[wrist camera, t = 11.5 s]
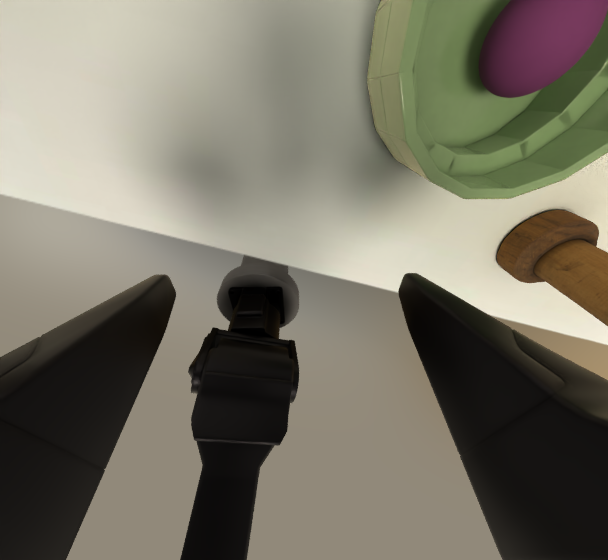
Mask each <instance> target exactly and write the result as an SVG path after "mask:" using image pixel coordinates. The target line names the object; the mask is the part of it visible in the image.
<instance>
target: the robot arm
mask: <svg viewBox="0 0 608 560" xmlns="http://www.w3.org/2000/svg"><path fill="white" fill-rule="evenodd" d="M277 290H280V291H277ZM232 291H233V292H232ZM228 295H229V298H230V302H231V305H232V309H233V314H232V318H231V321H230V325H229V329H228V331H226V330H220V329H218V328H212V331H211V333H210V334H208V336H207V337H205V339H204V342H203V344H202V347H201V349H200V351H199V353H198V355H197V356H196V358H195V359H194V361H193V362H192V364H191V365H190V367H189V371H188V373H189V374H190V376H191V378H192V380H191V383H192V387H191V393H198V394H197V398H196V401H195V405H194V409H193V413H192V418H191V421H192V423H191V426H192V431H193V437H194V440H195V441H197V445H198V449H199V453H200V456H201V460H202V464H203V467H202V471H201V475H200V480H199V484H198V488H197V492H196V496H195V501H194V505H193V509H192V514H191V517H190V521H189V526H188V530H187V534H186V538H185V543H184V547H183V551H182V555H181V559H180V560H247V553H248V546H249V539H250V532H251V526H252V519H253V512H254V504H255V498H256V490H257V484H258V477H259V470H260V467H261V465H262V464H263V462H264V461H265V459H266V458H267V456H268V455H269V453H270V451H271V450H272V448H273V447H274V445H280V443H281V442H282V440H283V438H284V436H285V434H286V432H287V427H288V426H287V425H288V414H289V406H290V403H292V402H293V401H294V399H295V397H296V393H297V389H298V382H299V365H298V359H297V353H296V347H295V341H293V340H289V341H288V340H282V339H279V328H280V324H284V323H285V312H284V298H283V289H282V287H279V286H277V287H231V288H229V290H228ZM175 297H176V292H175V289H174V287H173V285H172V282H171V280H170V278H169V277H168V276H167V275H154V276H152V277H150V278H148V279H146V280H144V281H142V282H140V283H139V284H137V285H135V286H133V287H131V288H129V289H127V290H126V291H124V292H122V293H120V294H118V295H116V296H114V297H112V298H111V299H109V300H107V301H105V302H103V303H101V304H100V305H97V306H96V307H94V308H92V309H90V310H88V311H86V312H84V313H83V314H81V315H79V316H77V317H75V318H74V319H71V320H69V321H68V322H66V323H64V324H62V325H60V326H58V327H57V328H55V329H53V330H51V331H49V332H47V333H45V334H43V335H42V336H41V337H38V338H36V339H34V340H32V341H30V342H29V343H26V344H25V345H23V346H21V347H19V348H17V349H15V350H13V351H11V352H9V353H8V354H6V355H4V356H2V357H0V560H66V558H67V556H68V554H69V551H70V549H71V547H72V544H73V542H74V540H75V538H76V535H77V533H78V531H79V528H80V526H81V524H82V521H83V519H84V517H85V515H86V512H87V510H88V508H89V506H90V503H91V501H92V499H93V496H94V494H95V492H96V490H97V487H98V485H99V483H100V480H101V478H102V476H103V474H104V471H105V470H104V469H105V468H106V466H107V464H108V462H109V459H110V457H111V455H112V452H113V450H114V448H115V446H116V443H117V441H118V439H119V436H120V434H121V432H122V430H123V427H124V425H125V423H126V420H127V418H128V416H129V414H130V411H131V409H132V407H133V404H134V402H135V399H136V397H137V395H138V393H139V390H140V388H141V386H142V384H143V382H144V379H145V377H146V374H147V372H148V370H149V367H150V366H151V363H152V361H153V359H154V356H155V354H156V352H157V349H158V347H159V345H160V343H161V340H162V338H163V336H164V333H165V330H166V327H167V324H168V321H169V318H170V314H171V311H172V308H173V304H174V301H175ZM399 298H400V301H401V304H402V309H403V312H404V316H405V319H406V323H407V326H408V329H409V331H410V334H411V337H412V339H413V342H414V344H415V347H416V349H417V351H418V354H419V357H420V359H421V361H422V364H423V366H424V369H425V371H426V374H427V376H428V378H429V381H430V383H431V386H432V388H433V391H434V393H435V396H436V398H437V401H438V403H439V406H440V408H441V410H442V413H443V415H444V418H445V420H446V423H447V425H448V428H449V430H450V433H451V435H452V437H453V440H454V442H455V445H456V447H457V450H458V452H459V454H460V455H461V456H460V457H461V460H462V462H463V465H464V467H465V470H466V472H467V475H468V477H469V480H470V482H471V484H472V487H473V489H474V492H475V494H476V497H477V499H478V502H479V504H480V507H481V509H482V511H483V514H484V516H485V519H486V521H487V524H488V526H489V529H490V531H491V533H492V536H493V538H494V541H495V543H496V545H497V548H498V551H499V553H500V555H501V557H502V559H503V560H608V380H606V379H604V378H602V377H600V376H599V375H597V374H595V373H593V372H591V371H589V370H587V369H585V368H583V367H581V366H579V365H577V364H575V363H574V362H572V361H570V360H568V359H566V358H564V357H562V356H560V355H558V354H556V353H554V352H553V351H551V350H549V349H547V348H545V347H544V346H542V345H540V344H538V343H536V342H534V341H533V340H531V339H529V338H528V337H526V336H524V335H522V334H520V333H519V332H517V331H515V330H512V329H511V328H510V327H509V326H507V325H505V324H503V323H502V322H500V321H498V320H496V319H495V318H493V317H491V316H490V315H488V314H486V313H484V312H483V311H481V310H479V309H477V308H476V307H474V306H472V305H471V304H469V303H467V302H465V301H464V300H462V299H460V298H459V297H457V296H455V295H453V294H452V293H450V292H448V291H446V290H445V289H443V288H441V287H440V286H438V285H436V284H434V283H433V282H431V281H429V280H427V279H426V278H424V277H422V276H421V275H419V274H417V273H407V274H405V275H404V277H403V280H402V282H401V285H400V288H399Z"/></svg>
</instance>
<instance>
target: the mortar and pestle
mask: <svg viewBox="0 0 608 560" xmlns="http://www.w3.org/2000/svg"><path fill="white" fill-rule="evenodd" d="M598 236H599V230H598V227H597V226H596V225H595V224H594V223H593V222H591V221H589V220H587V219H584V218H582V217H580V216H578V215H575V214H573V213H571V212H568V211H564V210H552V211H547V212H545V213H541V214H539V215H537V216H534V217H532V218H530V219H529V220H527V221H525V222H524V223H522V224H521V225H519V226H518V227H517V228H515V229H514V230H513V231H512V232H511V233H510V234H509V235H508V236H507V237H506V238H505V240H504V241H503V243H502V244H501V247H500V249H499V251H498V253H497V261H498V264H499V265H500V266H501V267H502V268H503V269H504V270H505V271H507V272H508V273H509V274H510V275H512V276H513V277H514V278H515V279H517V280H519V281H521V282H525V283H536V282H545V281H546V282H547V283H549V284H550V285H552V286H553V287H554V288H556V289H557V290H559V291H560V292H561V293H563V294H564V295H566V296H567V297H568V298H570V299H571V300H573V301H574V302H575V303H577V304H578V305H579V306H581V307H582V308H584V309H585V310H586V311H588V312H589V313H590V314H592V315H593V316H595V317H596V318H597V319H599V320H600V321H601V322H603V323H604V324H605V325H607V326H608V253H607V252H605V251H603V250H601V249H599V248H597V247H596V245H597V239H598Z"/></svg>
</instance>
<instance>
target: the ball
mask: <svg viewBox="0 0 608 560" xmlns="http://www.w3.org/2000/svg"><path fill="white" fill-rule="evenodd" d="M607 10H608V0H511V1H510V2H509V3H508V4H507V5H506V6H505V7H504V9H503V10H502V11H501V12H500V14H499V15H498V16H497V18H496V19H495V21H494V22H493V24H492V26H491V27H490V29H489V31H488V33H487V35H486V37H485V40H484V42H483V45H482V48H481V51H480V56H479V65H478V69H479V76H480V79H481V82H482V84H483V85H484V87H485V88H486V89H487V90H488V91H489V92H490V93H492V94H494V95H496V96H499V97H504V98H515V97H521V96H525V95H528V94H531V93H534V92H536V91H538V90H541V89H542V88H544V87H546V86H548V85H549V84H551V83H553V82H554V81H556V80H557V79H558V78H560V77H561V76H562V75H563V74H565V73H566V72H567V71H568V70H569V69H570V68H571V67H573V66H574V65H575V64H576V63H577V62H578V61H579V59H580V58H581V57H582V56H583V55H584V54H585V52H586V51H587V50H588V49H589V47H590V46H591V44H592V43H593V41H594V40H595V38H596V36H597V35H598V33H599V31H600V29H601V27H602V25H603V22H604V20H605V17H606V14H607Z"/></svg>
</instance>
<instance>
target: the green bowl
mask: <svg viewBox="0 0 608 560" xmlns="http://www.w3.org/2000/svg"><path fill="white" fill-rule="evenodd" d="M510 1H511V0H381V1H380V4H379V6H378V9H377V11H376V15H375V23H374V30H373V37H372V45H371V52H370V60H369V67H368V74H367V84H368V90H369V96H370V102H371V108H372V113H373V119H374V125H375V129H376V131H377V132H378V134H379V135H380V137H381V139H382V140H383V142H384V143H385V145H386V146H387V148H388V149H389V151H390V152H391V154H392V155H393V157H394V158H395V159H396V160H397V161H399V162H400V163H402V164H403V165H405V166H406V167H408V168H410V169H411V170H413V171H414V172H416V173H417V174H419V175H421V176H422V177H424V178H425V179H427V180H428V181H430V182H432V183H434V184H436V185H438V186H440V187H442V188H444V189H446V190H448V191H449V192H451V193H453V194H455V195H457V196H459V197H461V198H463V199H509V198H513V197H516V196H519V195H522V194H524V193H527V192H530V191H533V190H536V189H539V188H542V187H545V186H548V185H550V184H553V183H556V182H559V181H562V180H564V179H566V178H568V177H569V176H571V175H572V174H574V173H576V172H577V171H579V170H580V169H582V168H584V167H585V166H587V165H588V164H590V163H592V162H593V161H595V160H596V159H598V158H600V157H601V156H603V155H604V154H606V153H608V10H607V14H606V17H605V20H604V22H603V25H602V27H601V29H600V31H599V33H598V35H597V36H596V38H595V40H594V41H593V43H592V44H591V46H590V47H589V49H588V50H587V51H586V52H585V54H584V55H583V56H582V57H581V58H580V59H579V61H578V62H577V63H576V64H575V65H574V66H573V67H571V68H570V69H569V70H568V71H567V72H566V73H565V74H563V75H562V76H561V77H560V78H558V79H557V80H556V81H554V82H553V83H551V84H549V85H548V86H546V87H544V88H542V89H541V90H538V91H536V92H534V93H531V94H528V95H525V96H521V97H515V98H504V97H499V96H496V95H494V94H492V93H490V92H489V91H488V90H487V89H486V88H485V87H484V85H483V84H482V82H481V79H480V76H479V69H478V65H479V56H480V51H481V48H482V45H483V42H484V40H485V37H486V35H487V33H488V31H489V29H490V27H491V26H492V24H493V22H494V21H495V19H496V18H497V16H498V15H499V14H500V12H501V11H502V10H503V9H504V7H505V6H506V5H507V4H508V3H509V2H510Z"/></svg>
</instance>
